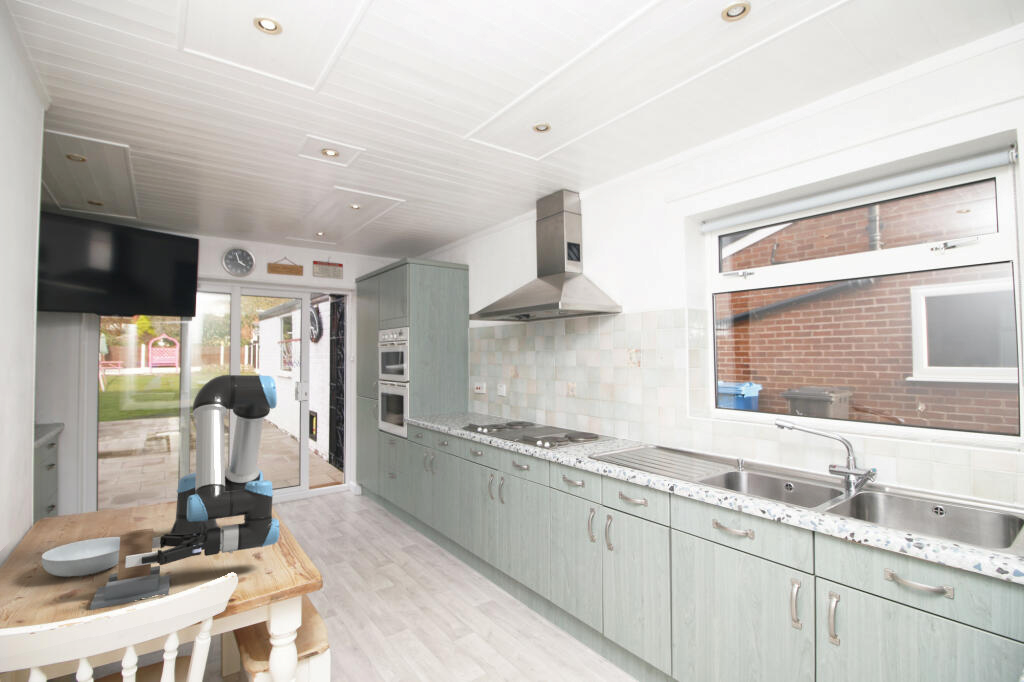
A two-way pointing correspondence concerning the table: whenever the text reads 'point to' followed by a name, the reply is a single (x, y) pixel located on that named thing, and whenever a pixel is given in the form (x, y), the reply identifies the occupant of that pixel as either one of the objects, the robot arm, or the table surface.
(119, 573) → the walnut card
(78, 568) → the serving bowl
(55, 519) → the table surface
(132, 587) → the slotted rack
